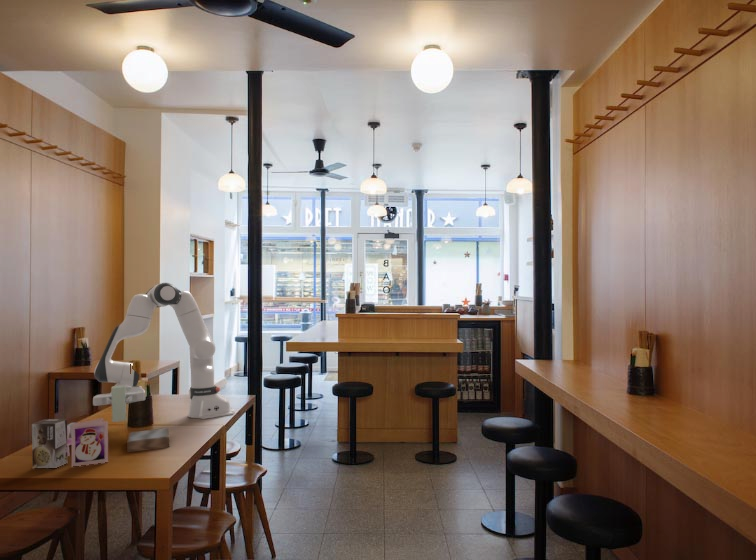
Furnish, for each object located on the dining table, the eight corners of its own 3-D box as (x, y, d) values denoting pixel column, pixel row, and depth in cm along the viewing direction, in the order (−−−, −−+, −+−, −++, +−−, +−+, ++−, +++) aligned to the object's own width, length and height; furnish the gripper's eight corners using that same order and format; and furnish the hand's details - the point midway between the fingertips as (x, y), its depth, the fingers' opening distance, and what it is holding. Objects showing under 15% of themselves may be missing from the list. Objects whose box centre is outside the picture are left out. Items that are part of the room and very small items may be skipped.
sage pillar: (126, 417, 217) (125, 385, 217) (125, 420, 212) (124, 387, 213) (113, 419, 215) (112, 386, 215) (112, 422, 210) (111, 388, 211)
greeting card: (71, 468, 179) (71, 425, 179) (74, 461, 186) (74, 420, 186) (107, 463, 184) (107, 421, 184) (109, 457, 190) (109, 417, 191)
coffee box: (68, 463, 184) (68, 418, 185) (55, 469, 178) (55, 423, 178) (45, 463, 185) (44, 418, 186) (31, 469, 179) (31, 423, 179)
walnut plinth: (168, 437, 216) (168, 427, 216) (169, 446, 202) (169, 436, 202) (129, 441, 210) (129, 432, 210) (127, 452, 196) (127, 441, 196)
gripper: (94, 390, 222) (90, 396, 209) (145, 385, 230) (144, 390, 217) (94, 405, 222) (90, 412, 209) (146, 399, 230) (145, 405, 217)
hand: (118, 401), depth 213 cm, fingers closed on sage pillar, 5 cm apart
